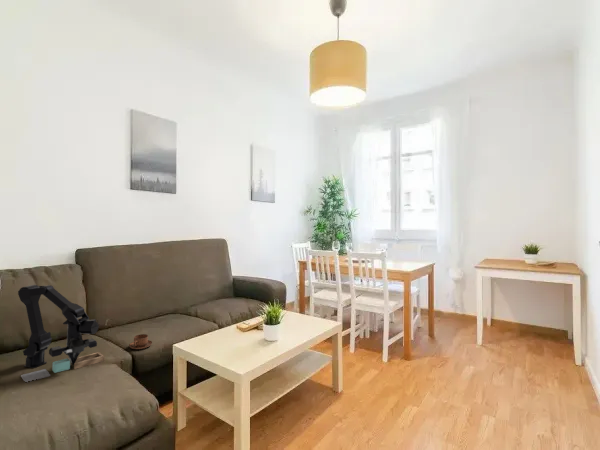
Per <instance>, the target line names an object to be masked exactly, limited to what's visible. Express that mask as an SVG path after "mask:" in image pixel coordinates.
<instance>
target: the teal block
mask: <svg viewBox="0 0 600 450" xmlns="http://www.w3.org/2000/svg"><path fill="white" fill-rule="evenodd" d="M70 369H71V365H70V359H69V357H68V358H63V359H59V360H56V361H55V360H54V361H53V362H52V372H53V373H54V374H56V373H60V372H63V371H68V370H70Z"/></svg>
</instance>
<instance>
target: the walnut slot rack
mask: <svg viewBox="0 0 600 450" xmlns="http://www.w3.org/2000/svg"><path fill="white" fill-rule="evenodd" d="M101 362H105V355H104V354H102V353H101V352H100V351H98V352H95V353H90V354H87V355H82V356H78V357H77V360H76V362H75V363H74V365H72V363H71V361H70V366H73V369H74V370H76V369H80V368H83V367H87V366H91V365H94V364H98V363H101Z"/></svg>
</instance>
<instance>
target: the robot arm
mask: <svg viewBox="0 0 600 450" xmlns="http://www.w3.org/2000/svg"><path fill="white" fill-rule="evenodd" d="M17 295H18V297H19V300H20V301H21V302H22V303H23V304H24V305H25V308H26V309H25V310H26V314H27V318H28V324H29V329H30V333H31V334H30V336H29V338H28V339H29V340H28V346H27V347H26V348H24V350H23V351H22V353H23V356H26V357H25V364H24V365H23V367H25V368H32V369H36V368H38V367H40V366H42V365H45V364H47V363H48V362H47V361H45V354H46V353H45V350H48V348H49V346H50V345H51V343H52V340H53V338H52V336H51V335H52V334H51V332H50V331H48V332H47V331H46V330H45V327H44V322H43V318H42V313H41V309H40V304H39V301H40V299H41V296H42V295H43V296H44V297H45V298H46V299H48V301H50V302H51V303H52V304H54V305H55V306H56V307H57V308H58V309H60V310H61V313H62V316H63V317H64V318H65V319H66V320H65V321H64V322H63V323H62V324H63V325H66V326H67V330H66V344H65V345H66V346H65V347H62V346H60V345H58V346H57V345H56V346H53V347H50V348H49V350H48V354H49V356H51V357H53V358H54V357H58V356H62V354H63V353H64V355H66V356H68V359H69V360H70V361H71V363H72V365H71V366H74V363H75V362H76V360H77V358H78V357H79V355H80V354H81V353H82V352H84V351H85V349H86V348H90V349H91V348H95V347H98V343H97V342H98V341H97V340H95V339H93V338H90V339H89V338H86V339H83V335H86V334H87V335H95V334H96V333H97V332H98V331H99V327H100V326H99V322H98V321H97V319H90V317H89V316H88V314H87V312H86V311H85V308H84V307H83V306H81V305H79V304H78V303H73V302H71V301H70V300H69V299H67V298H66V297H65V296H64V295H63V294H61V293H60V292H59V291H58V290H57V289H55V288H54V286H53V285H49V284H48V285H37V284H31V285H27V286H22V287H20V288H19V290H18V292H17Z"/></svg>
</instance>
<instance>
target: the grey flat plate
mask: <svg viewBox="0 0 600 450" xmlns="http://www.w3.org/2000/svg"><path fill="white" fill-rule="evenodd" d="M51 376H52V375H51V374H50V372H49V371H48V370H47V369H46V368H44V369H43V368H42V369H40V370H36V371H32V372H27V373H24V374H21V375H20V377H21V378H22V380H23V382H24V381H25V382H27V383H29V382H28V381H30V382H33V381H32V380H34V381H37V380H41V379H44V378H47V377H51ZM36 379H37V380H36ZM25 382H24V383H25Z"/></svg>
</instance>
